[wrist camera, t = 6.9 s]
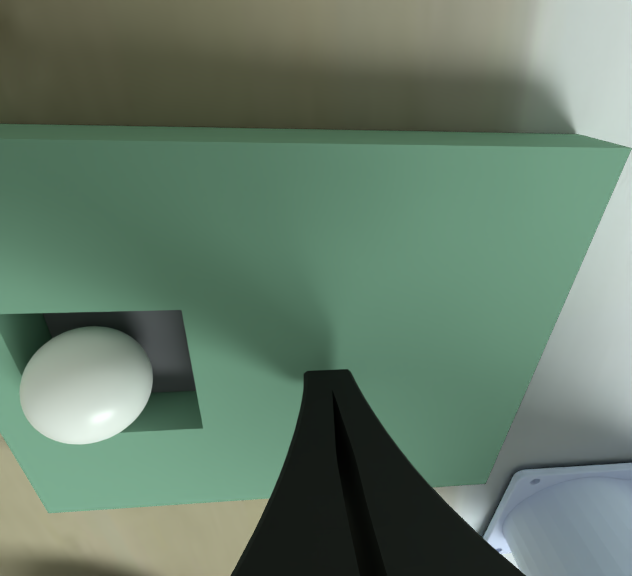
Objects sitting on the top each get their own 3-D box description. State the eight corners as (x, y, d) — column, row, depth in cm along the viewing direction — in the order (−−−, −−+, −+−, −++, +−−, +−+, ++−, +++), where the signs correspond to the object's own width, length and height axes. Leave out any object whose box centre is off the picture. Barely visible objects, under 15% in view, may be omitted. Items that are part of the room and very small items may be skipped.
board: (578, 134, 11) (632, 148, 9) (466, 444, 18) (485, 483, 17) (-97, 121, 10) (-177, 136, 8) (71, 466, 17) (48, 513, 15)
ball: (93, 290, 13) (159, 329, 11) (126, 363, 15) (186, 405, 13) (-29, 354, 10) (32, 416, 9) (30, 430, 13) (88, 491, 11)
